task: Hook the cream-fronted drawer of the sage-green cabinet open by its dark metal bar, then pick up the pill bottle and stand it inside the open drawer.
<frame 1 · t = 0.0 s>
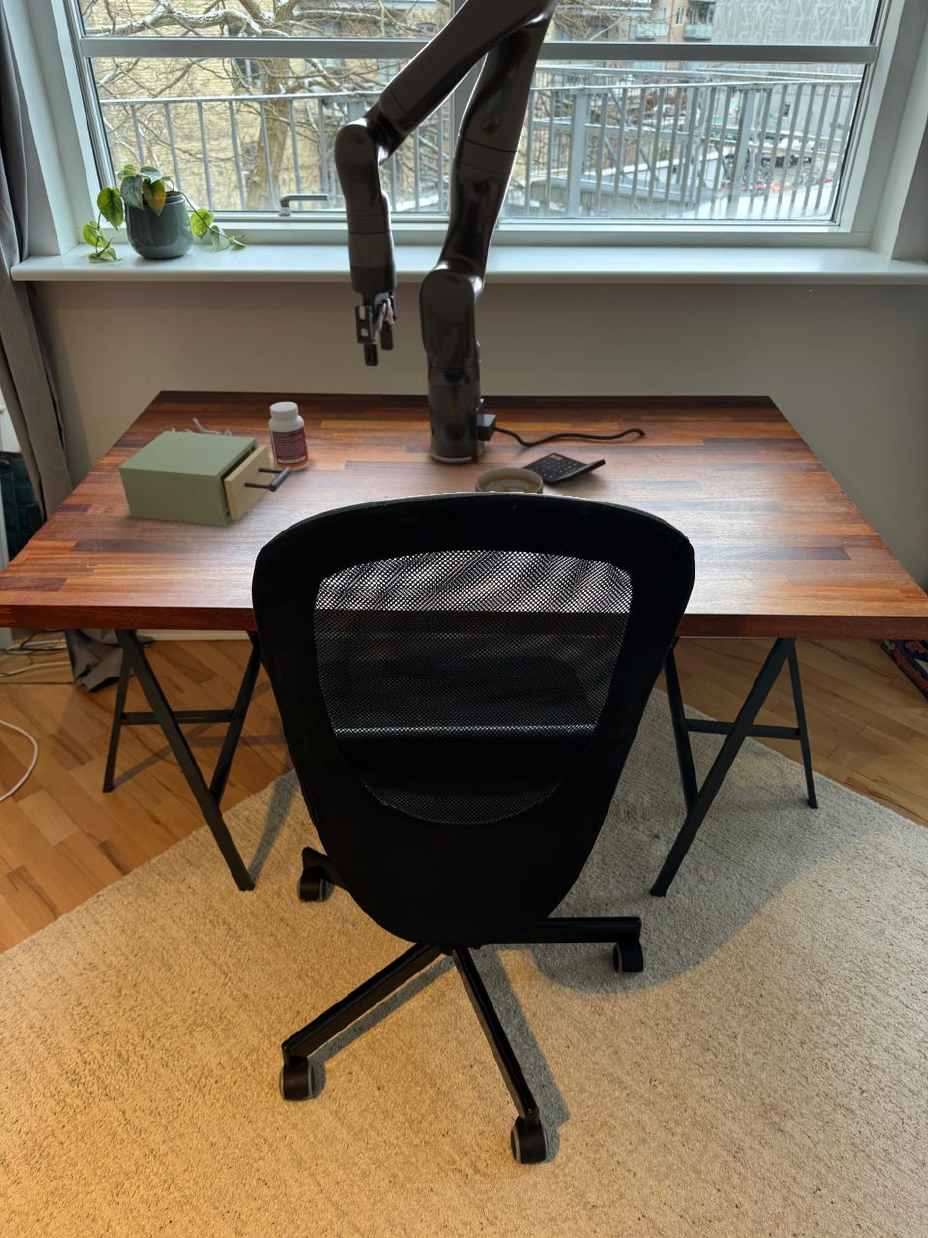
hand: (380, 357, 154), 17 cm above the table, tool pointing down, fingers open, 8 cm apart
calculator: (561, 475, 153), on the table
cabinet: (199, 500, 148), on the table
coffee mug: (506, 537, 136), on the table
pill bottle: (292, 466, 159), on the table
drawer: (225, 479, 145), point 4 cm above the table, slide at 1.0 cm
soldier figure: (204, 446, 167), on the table
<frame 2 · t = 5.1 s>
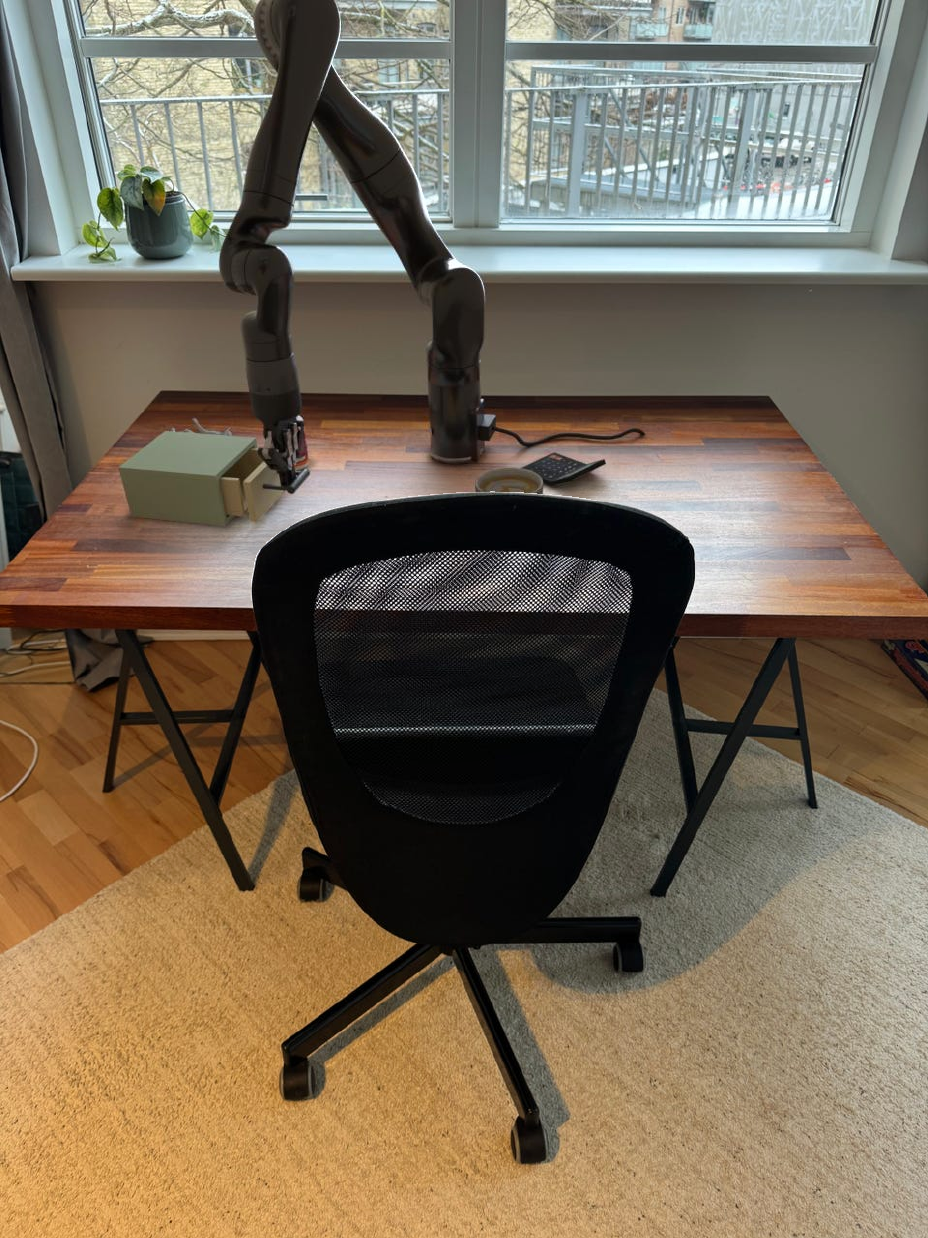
hand: (289, 488, 143), 4 cm above the table, tool pointing down, fingers closed
drawer: (242, 481, 144), point 4 cm above the table, slide at 4.2 cm, touching gripper
everything else where it was.
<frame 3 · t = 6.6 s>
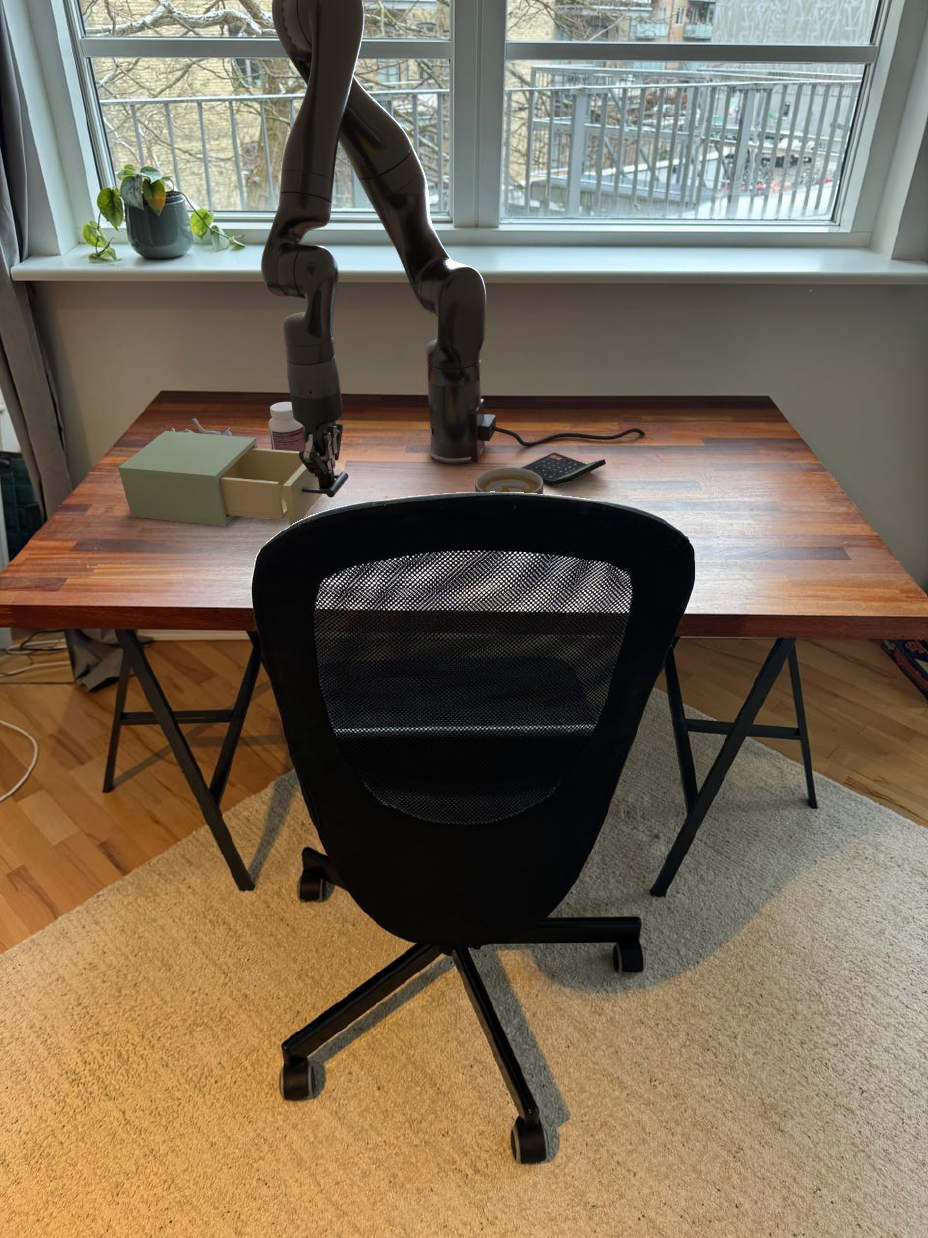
hand: (328, 491, 141), 4 cm above the table, tool pointing down, fingers closed
drawer: (280, 484, 143), point 4 cm above the table, slide at 10.8 cm, touching gripper
everything else where it was.
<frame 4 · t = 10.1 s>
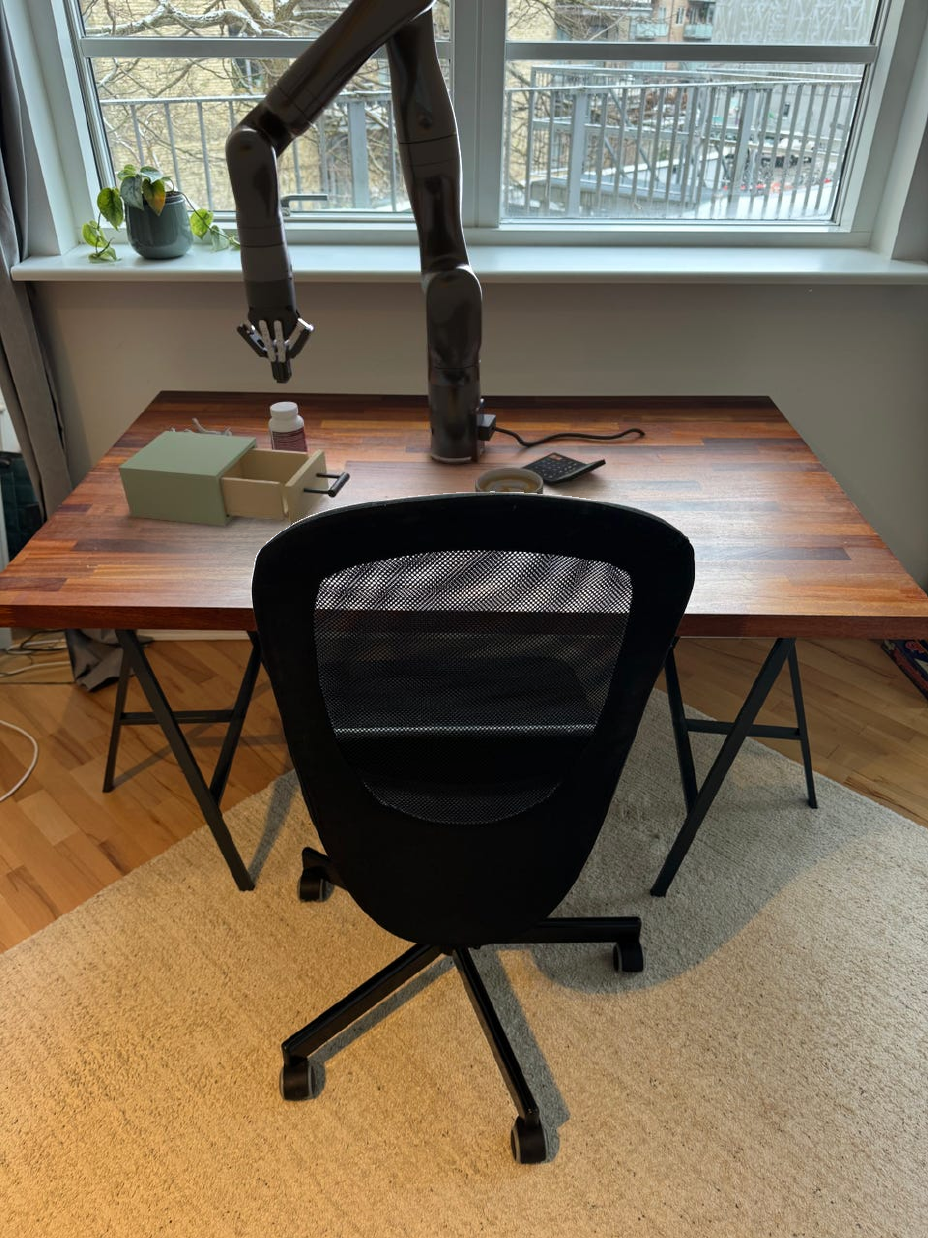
hand: (283, 381, 147), 17 cm above the table, tool pointing down, fingers closed
drawer: (282, 484, 143), point 4 cm above the table, slide at 11.1 cm
everything else where it was.
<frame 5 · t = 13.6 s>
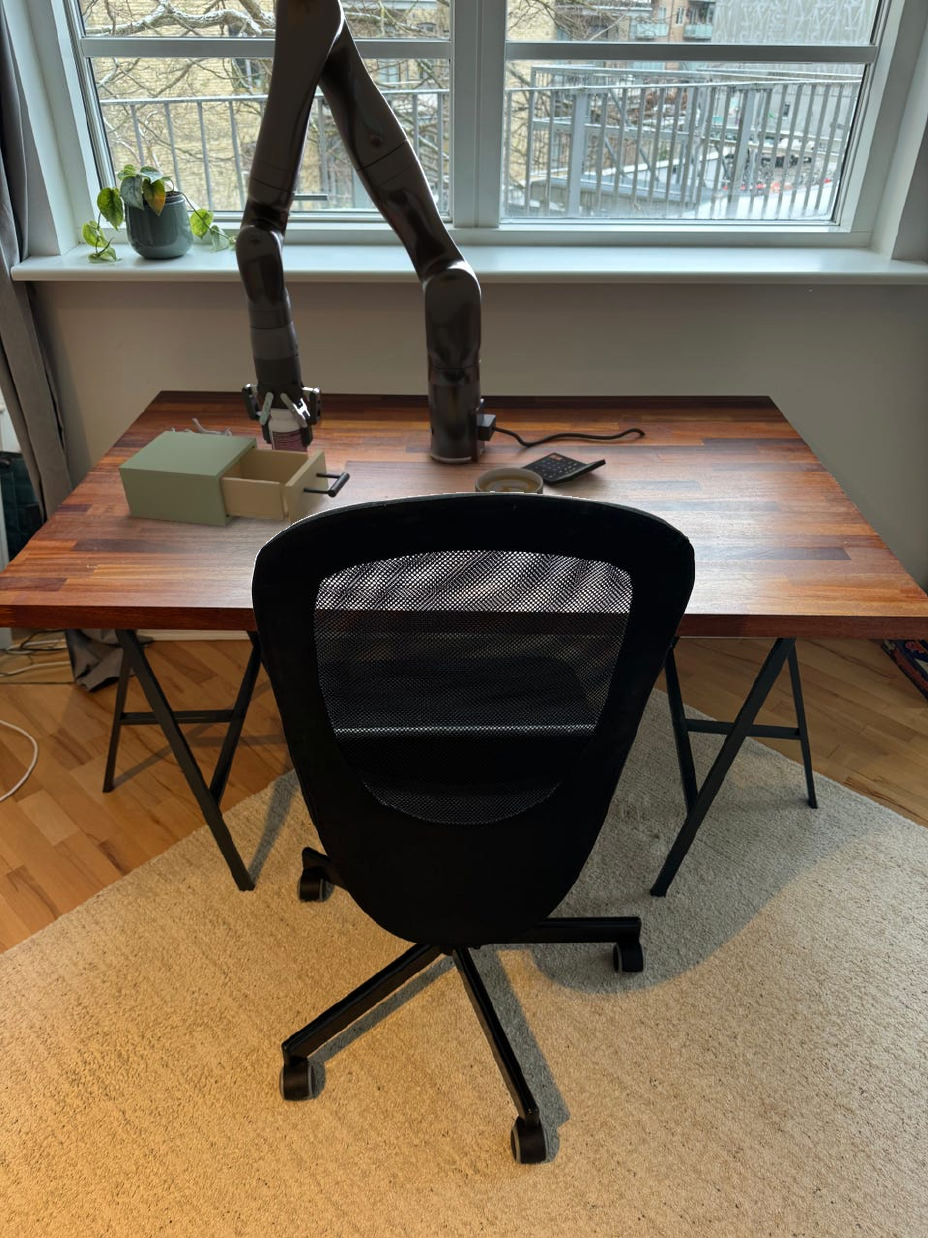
hand: (289, 443, 157), 4 cm above the table, tool pointing down, fingers closed on pill bottle, 6 cm apart
pill bottle: (292, 466, 159), on the table, touching gripper
everything else where it was.
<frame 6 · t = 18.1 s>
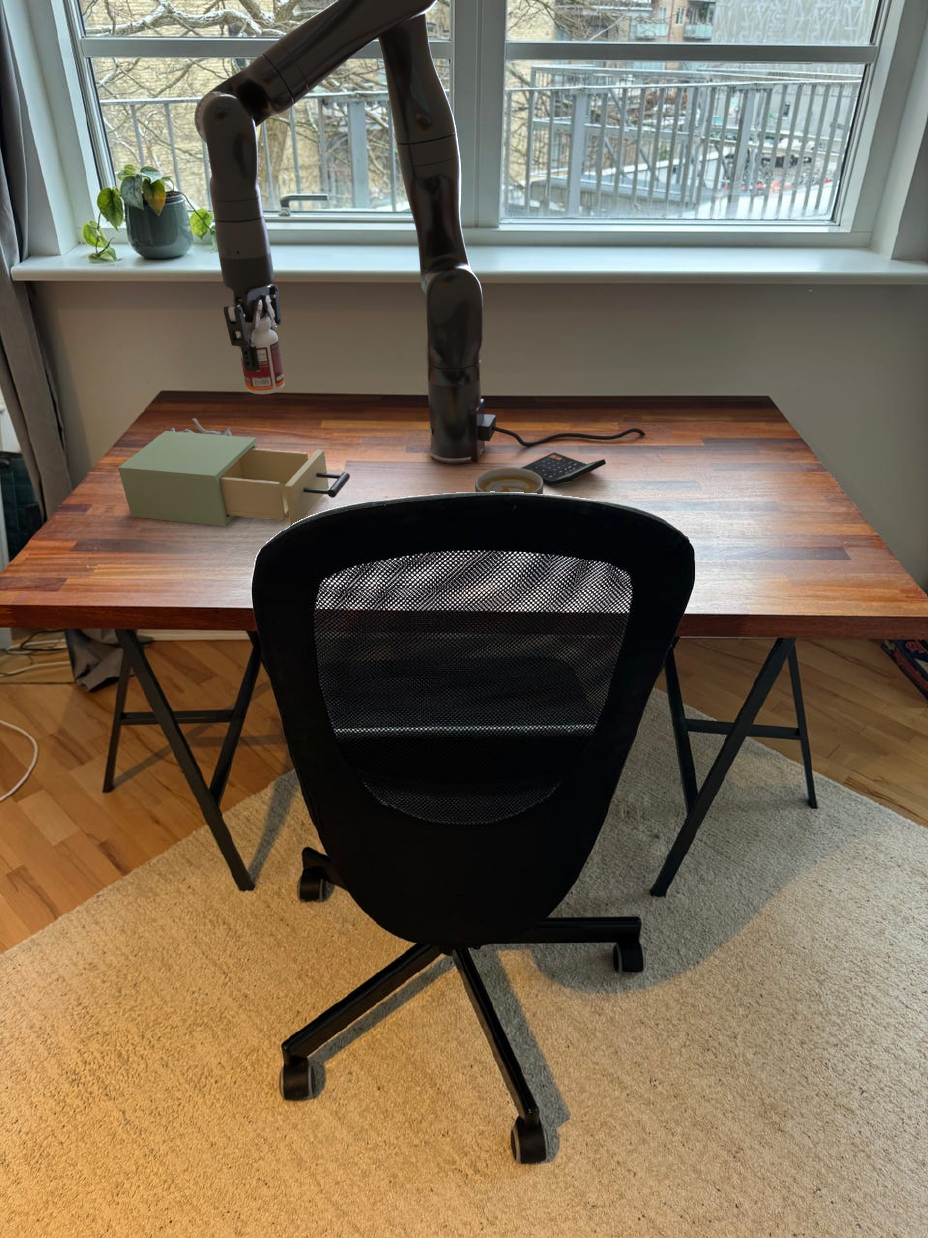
hand: (261, 362, 139), 22 cm above the table, tool pointing down, fingers closed on pill bottle, 6 cm apart
pill bottle: (265, 389, 142), point 17 cm above the table, touching gripper
everything else where it was.
when the fingers open (6 cm above the table, at t = 22.8 s): pill bottle stays where it is, resting on drawer.
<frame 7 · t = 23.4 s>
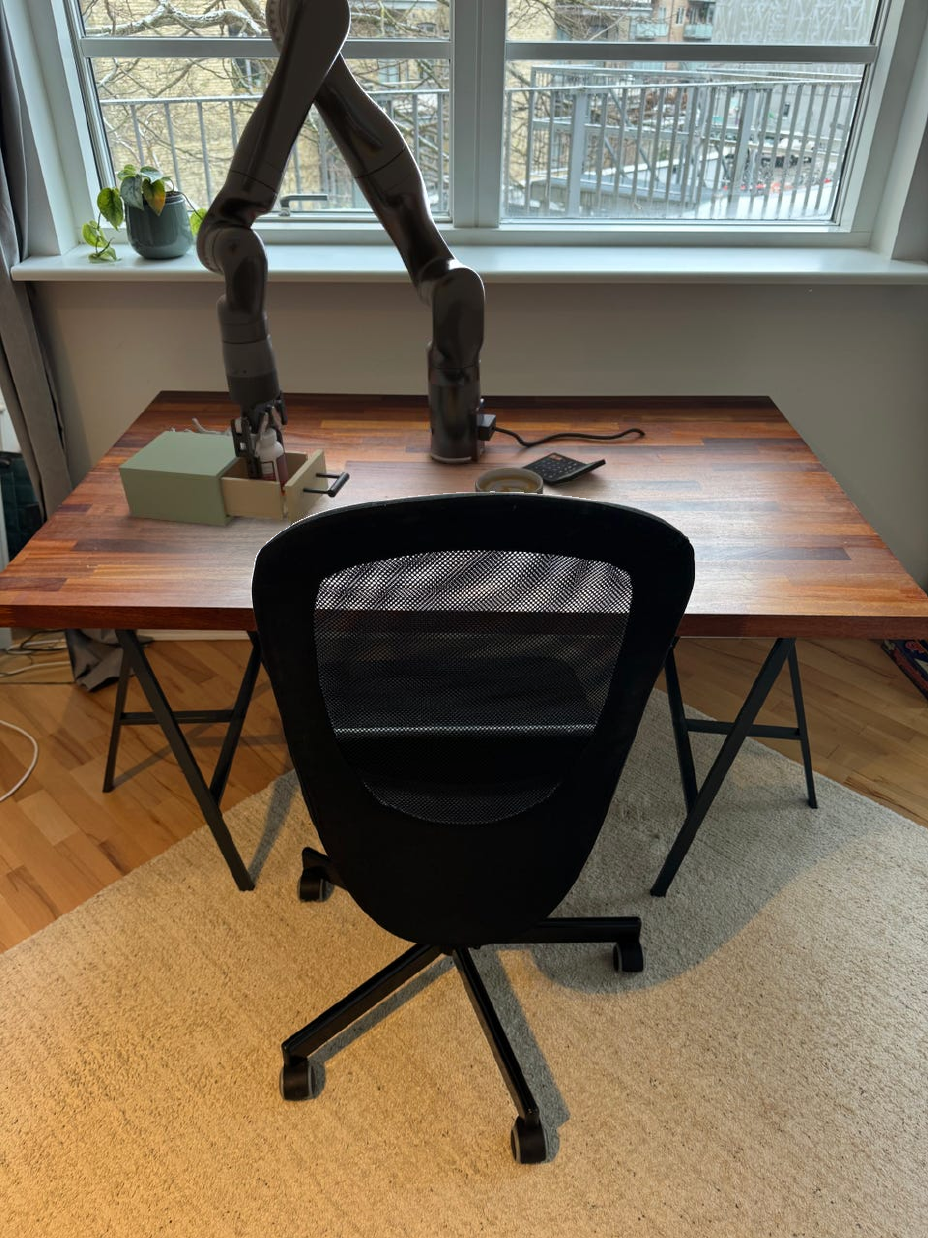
hand: (267, 466, 141), 7 cm above the table, tool pointing down, fingers open, 8 cm apart
pill bottle: (271, 497, 145), point 2 cm above the table, touching drawer
drawer: (281, 484, 143), point 4 cm above the table, slide at 11.0 cm, touching pill bottle
everything else where it was.
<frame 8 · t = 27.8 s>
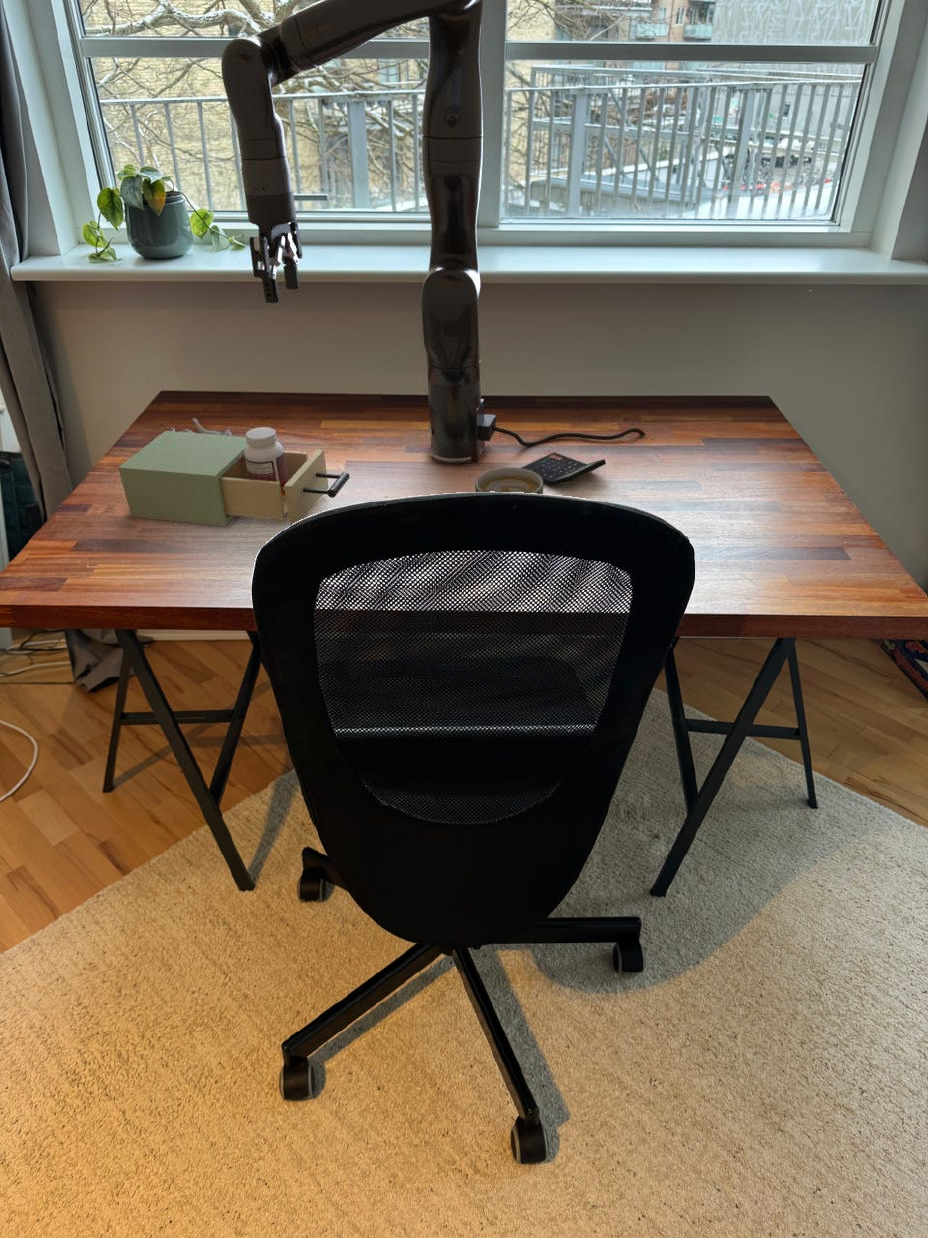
hand: (283, 295, 148), 28 cm above the table, tool pointing down, fingers open, 8 cm apart
nothing on the table moved.
at the end: drawer slide at 11.0 cm; pill bottle inside the target area in the drawer (0.4 cm from its centre), point 1.9 cm above the cabinet's base; pill bottle tilted 0° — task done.
